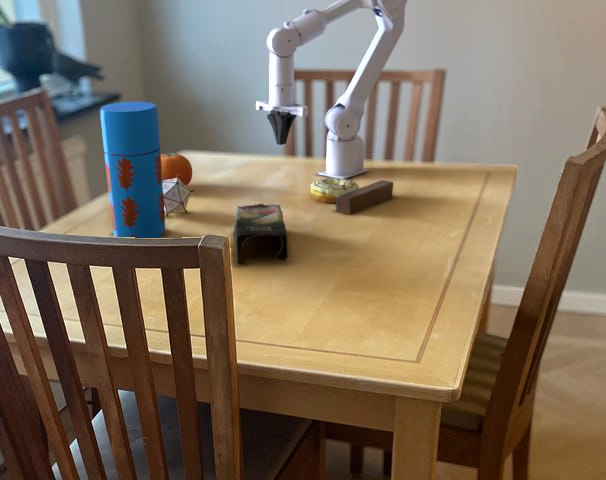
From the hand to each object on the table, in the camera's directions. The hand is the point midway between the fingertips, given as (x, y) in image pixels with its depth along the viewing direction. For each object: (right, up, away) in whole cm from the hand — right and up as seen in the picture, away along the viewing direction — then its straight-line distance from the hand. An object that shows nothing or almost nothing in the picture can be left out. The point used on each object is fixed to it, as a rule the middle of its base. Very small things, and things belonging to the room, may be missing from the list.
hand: (281, 143), depth 191 cm
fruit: (-27, -11, 0) cm, 29 cm away
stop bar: (+17, -18, -17) cm, 30 cm away
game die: (-25, -21, -18) cm, 37 cm away
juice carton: (-7, -32, -38) cm, 50 cm away
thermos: (-31, -28, -29) cm, 51 cm away
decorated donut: (+11, -16, -12) cm, 23 cm away
